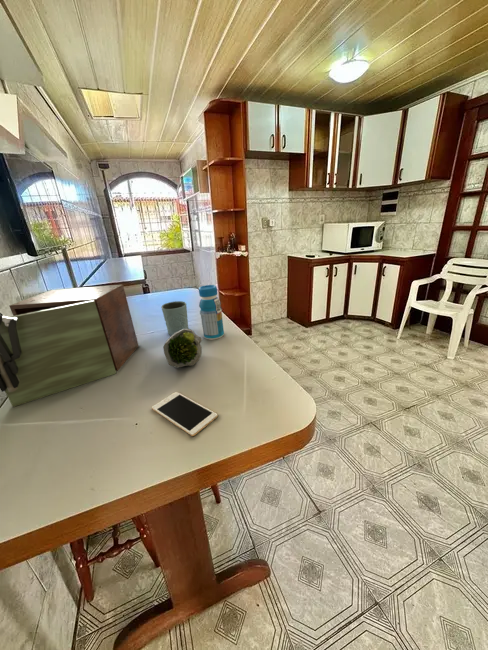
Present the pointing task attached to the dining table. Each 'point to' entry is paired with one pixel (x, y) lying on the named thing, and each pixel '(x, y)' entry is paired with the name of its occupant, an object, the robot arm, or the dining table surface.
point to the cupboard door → (57, 351)
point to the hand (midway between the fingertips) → (10, 386)
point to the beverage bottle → (210, 312)
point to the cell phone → (185, 413)
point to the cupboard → (109, 309)
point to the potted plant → (183, 348)
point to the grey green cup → (175, 316)
